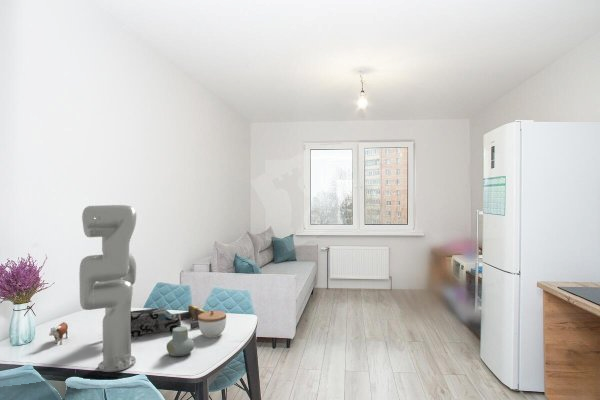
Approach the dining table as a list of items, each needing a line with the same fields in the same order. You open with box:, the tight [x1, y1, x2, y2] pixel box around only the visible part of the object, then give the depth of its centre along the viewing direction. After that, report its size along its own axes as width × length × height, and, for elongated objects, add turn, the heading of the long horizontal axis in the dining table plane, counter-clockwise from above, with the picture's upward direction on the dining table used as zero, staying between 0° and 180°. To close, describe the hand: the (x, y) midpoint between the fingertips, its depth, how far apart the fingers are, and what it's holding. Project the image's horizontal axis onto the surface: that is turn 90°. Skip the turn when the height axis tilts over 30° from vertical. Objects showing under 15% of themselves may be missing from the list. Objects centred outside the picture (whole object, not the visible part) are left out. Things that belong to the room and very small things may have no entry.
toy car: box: [131, 307, 182, 338], centre depth 179 cm, size 11×25×10 cm, turn 110°
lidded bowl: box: [198, 309, 227, 339], centre depth 174 cm, size 13×13×11 cm
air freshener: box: [166, 326, 195, 357], centre depth 153 cm, size 11×8×10 cm
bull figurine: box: [48, 321, 69, 346], centre depth 167 cm, size 4×13×8 cm, turn 11°
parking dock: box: [178, 304, 207, 330], centre depth 191 cm, size 19×9×6 cm, turn 41°
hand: (113, 334), depth 167 cm, fingers open, 9 cm apart
